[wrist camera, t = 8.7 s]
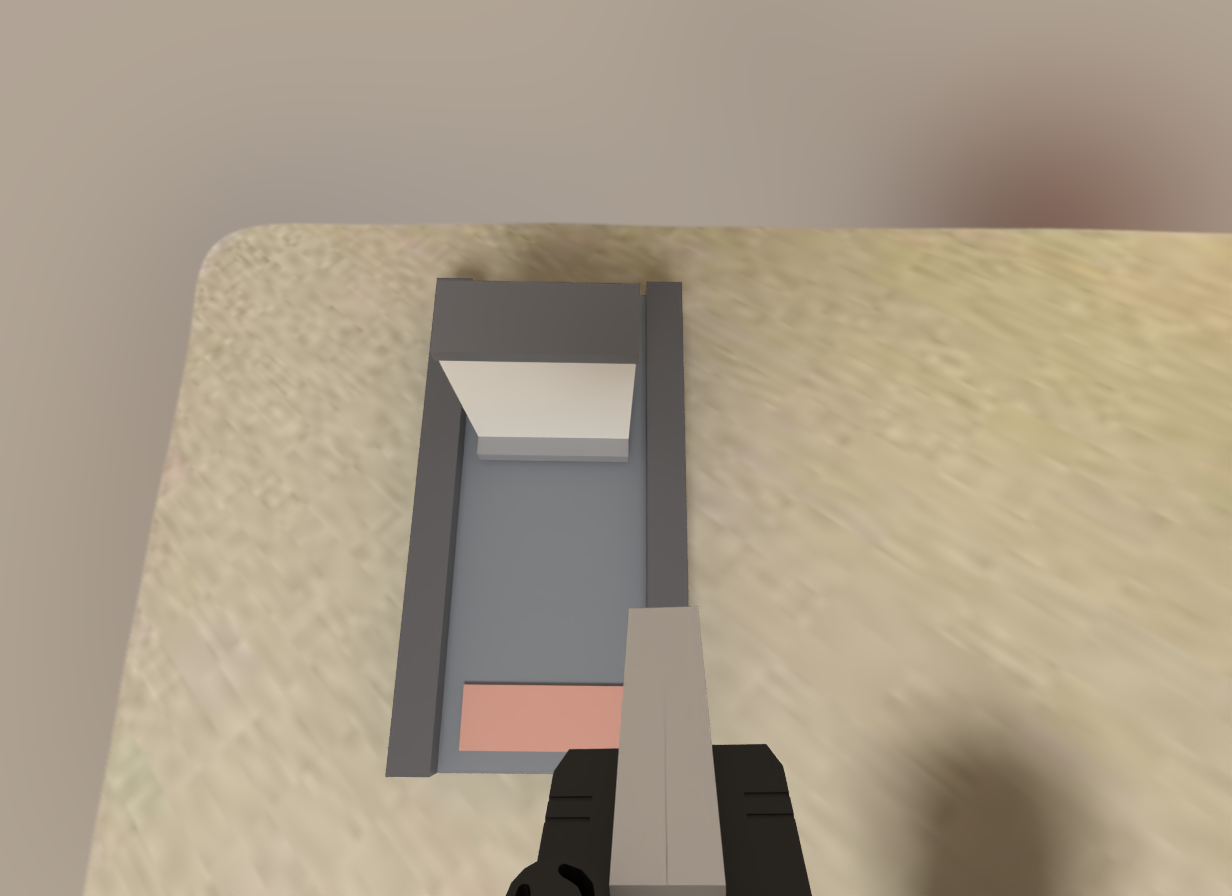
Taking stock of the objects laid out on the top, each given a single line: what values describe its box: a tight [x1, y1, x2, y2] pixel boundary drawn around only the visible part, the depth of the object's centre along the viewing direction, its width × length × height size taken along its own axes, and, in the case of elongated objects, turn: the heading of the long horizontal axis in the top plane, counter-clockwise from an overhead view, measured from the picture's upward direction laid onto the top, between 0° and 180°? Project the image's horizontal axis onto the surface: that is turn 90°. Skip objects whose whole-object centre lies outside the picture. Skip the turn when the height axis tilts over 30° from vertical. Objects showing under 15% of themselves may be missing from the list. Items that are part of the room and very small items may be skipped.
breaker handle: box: [430, 280, 640, 462], centre depth 33 cm, size 5×8×11 cm, turn 89°
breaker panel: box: [385, 278, 689, 777], centre depth 38 cm, size 26×14×4 cm, turn 179°
